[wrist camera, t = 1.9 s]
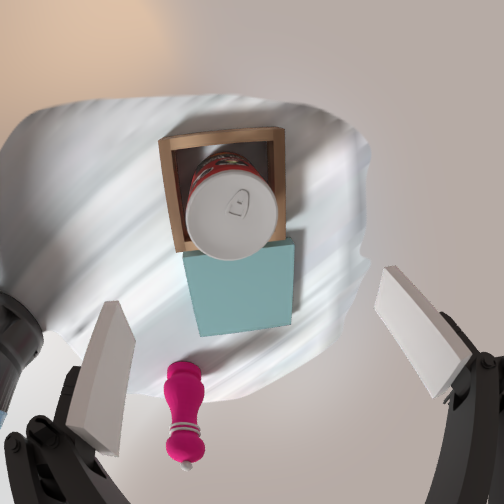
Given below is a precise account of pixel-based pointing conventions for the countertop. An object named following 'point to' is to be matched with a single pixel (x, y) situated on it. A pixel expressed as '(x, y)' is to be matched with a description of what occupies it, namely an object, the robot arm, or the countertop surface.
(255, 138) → the collar
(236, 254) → the canned food
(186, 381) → the pepper mill
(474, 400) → the robot arm
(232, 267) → the plate
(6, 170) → the countertop surface
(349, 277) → the countertop surface
